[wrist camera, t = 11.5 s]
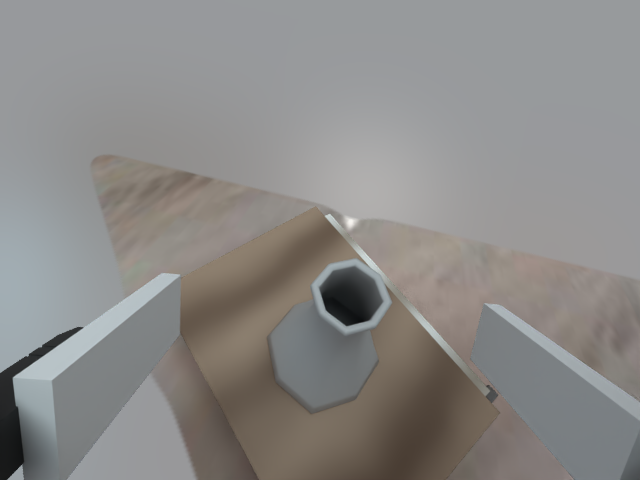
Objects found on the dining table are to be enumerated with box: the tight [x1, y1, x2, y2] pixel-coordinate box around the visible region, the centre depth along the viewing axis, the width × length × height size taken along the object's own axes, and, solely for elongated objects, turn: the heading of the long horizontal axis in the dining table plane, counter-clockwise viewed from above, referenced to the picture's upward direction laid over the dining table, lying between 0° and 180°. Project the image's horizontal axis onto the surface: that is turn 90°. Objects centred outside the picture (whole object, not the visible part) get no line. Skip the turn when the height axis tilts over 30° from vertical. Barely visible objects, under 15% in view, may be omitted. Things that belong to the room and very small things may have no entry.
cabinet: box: [180, 206, 500, 480], centre depth 25 cm, size 20×16×8 cm
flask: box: [267, 258, 392, 414], centre depth 17 cm, size 7×7×10 cm
